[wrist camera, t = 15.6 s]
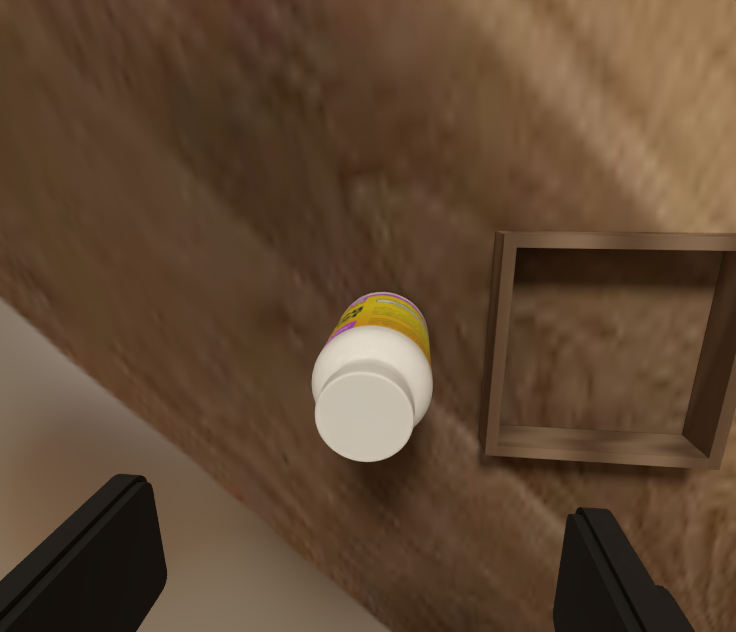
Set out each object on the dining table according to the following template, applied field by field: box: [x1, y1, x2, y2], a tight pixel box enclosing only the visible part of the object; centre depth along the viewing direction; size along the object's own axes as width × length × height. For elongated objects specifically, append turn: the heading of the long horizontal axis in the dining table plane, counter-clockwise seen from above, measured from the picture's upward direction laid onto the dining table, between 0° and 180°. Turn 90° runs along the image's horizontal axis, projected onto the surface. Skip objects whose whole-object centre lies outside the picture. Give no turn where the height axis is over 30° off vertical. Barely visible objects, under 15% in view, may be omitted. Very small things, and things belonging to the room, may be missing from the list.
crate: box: [479, 231, 736, 470], centre depth 29 cm, size 16×16×3 cm
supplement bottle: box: [312, 292, 433, 462], centre depth 26 cm, size 7×7×13 cm
